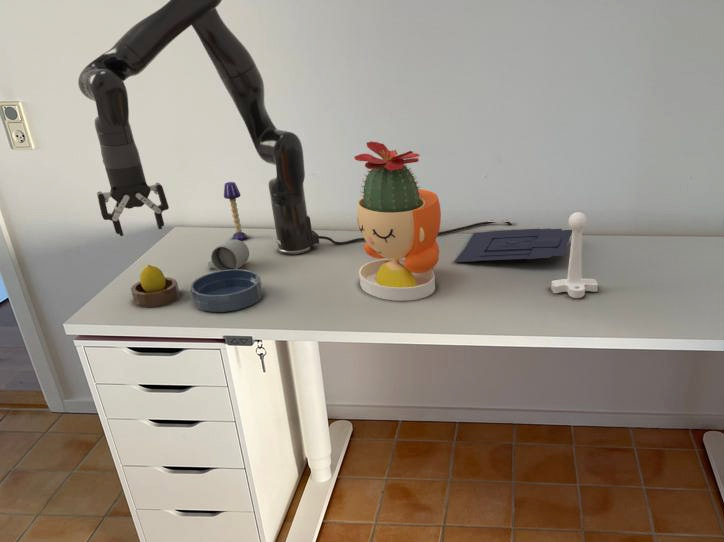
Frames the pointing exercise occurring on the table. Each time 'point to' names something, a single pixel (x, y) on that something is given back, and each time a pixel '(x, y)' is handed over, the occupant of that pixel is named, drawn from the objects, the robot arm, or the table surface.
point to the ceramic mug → (229, 255)
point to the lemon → (152, 279)
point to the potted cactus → (397, 228)
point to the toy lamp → (234, 208)
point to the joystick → (575, 263)
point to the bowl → (226, 290)
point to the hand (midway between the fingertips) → (141, 231)
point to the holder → (156, 294)
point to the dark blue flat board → (515, 244)
